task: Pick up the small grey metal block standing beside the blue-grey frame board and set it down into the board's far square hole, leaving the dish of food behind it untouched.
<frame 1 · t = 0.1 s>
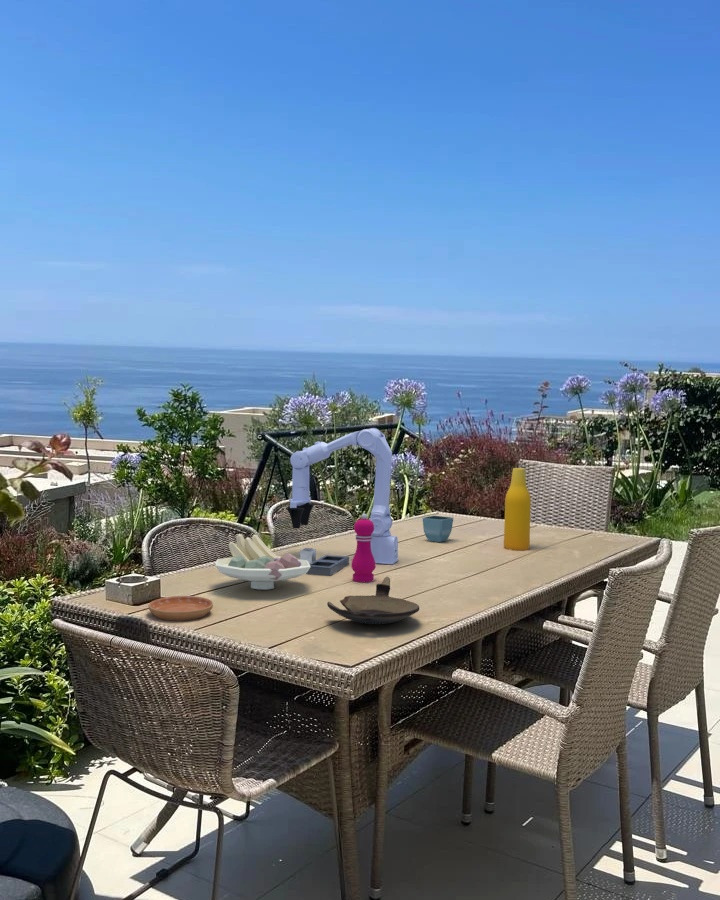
hand: (300, 526, 306), 10 cm above the table, tool pointing down, fingers open, 7 cm apart
oil lamp: (379, 620, 226), on the table
flower pot: (437, 541, 341), on the table
dish with food: (262, 588, 259), on the table
pepper mill: (363, 580, 271), on the table
beer bottle: (516, 548, 328), on the table
saucer: (180, 615, 228), on the table
grey metal block: (307, 565, 292), on the table
blue-grey frame board: (327, 569, 286), on the table
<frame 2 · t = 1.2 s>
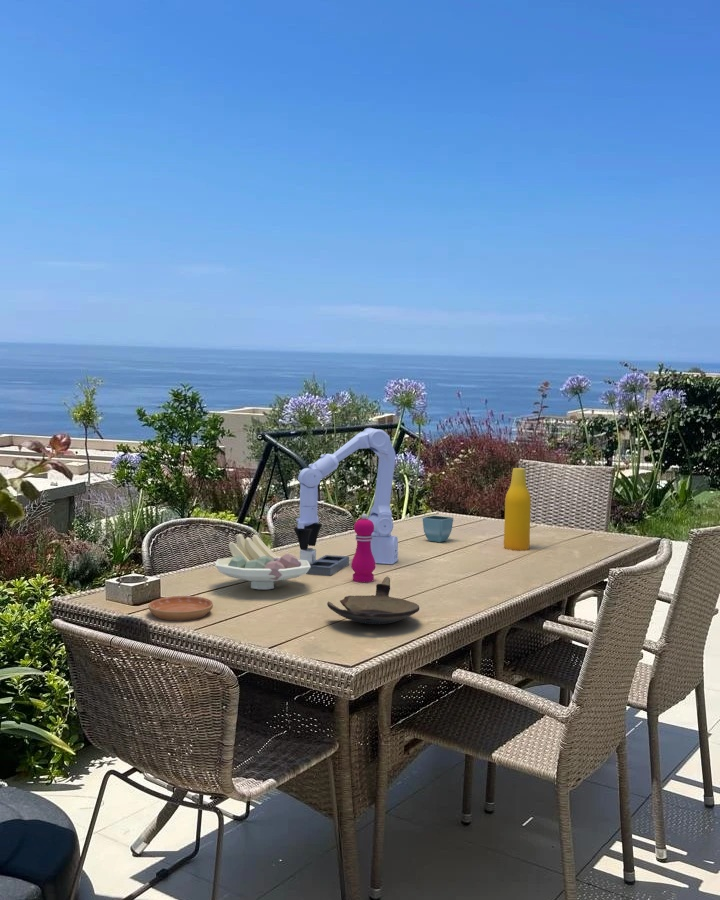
hand: (307, 547, 291), 6 cm above the table, tool pointing down, fingers open, 7 cm apart
nothing on the table moved.
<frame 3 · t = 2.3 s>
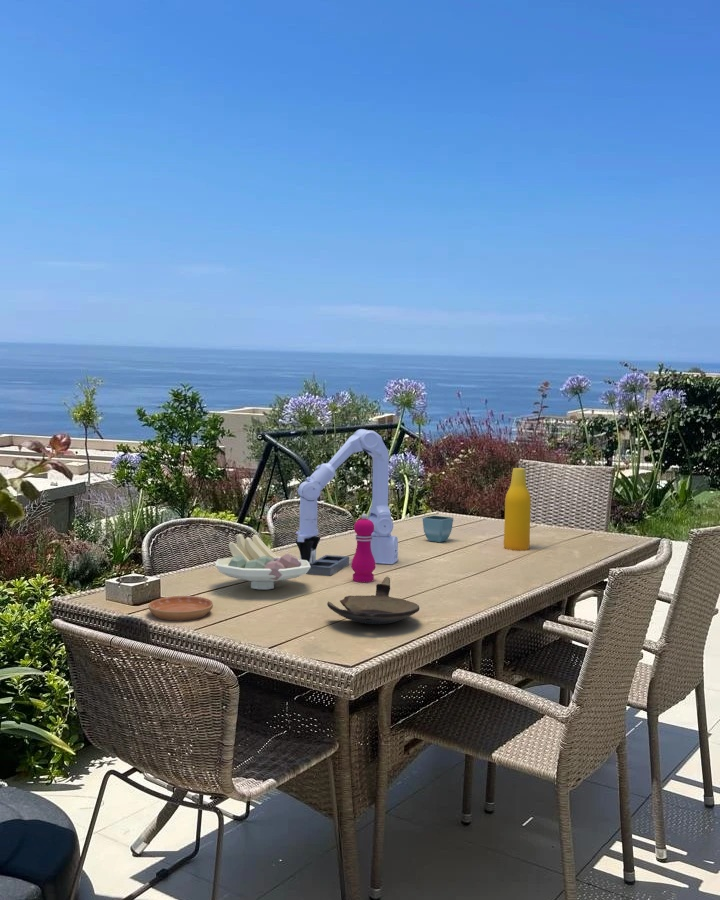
hand: (307, 560, 292), 1 cm above the table, tool pointing down, fingers closed on grey metal block, 4 cm apart
grey metal block: (307, 565, 292), on the table, touching gripper
everything else where it was.
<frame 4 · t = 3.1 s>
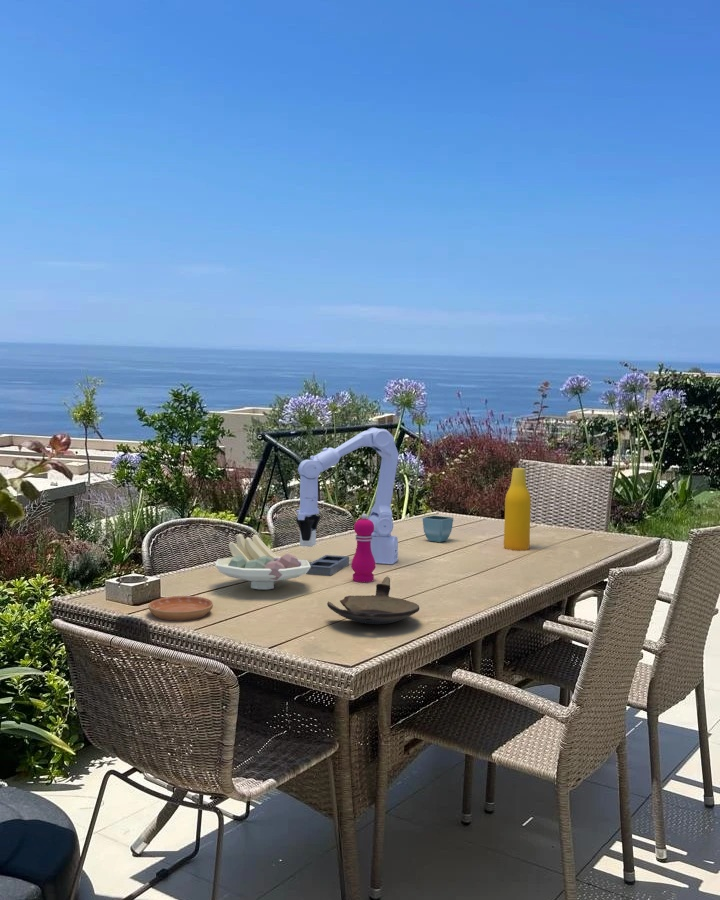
hand: (308, 539, 291), 8 cm above the table, tool pointing down, fingers closed on grey metal block, 4 cm apart
grey metal block: (307, 545, 291), point 6 cm above the table, touching gripper
everything else where it was.
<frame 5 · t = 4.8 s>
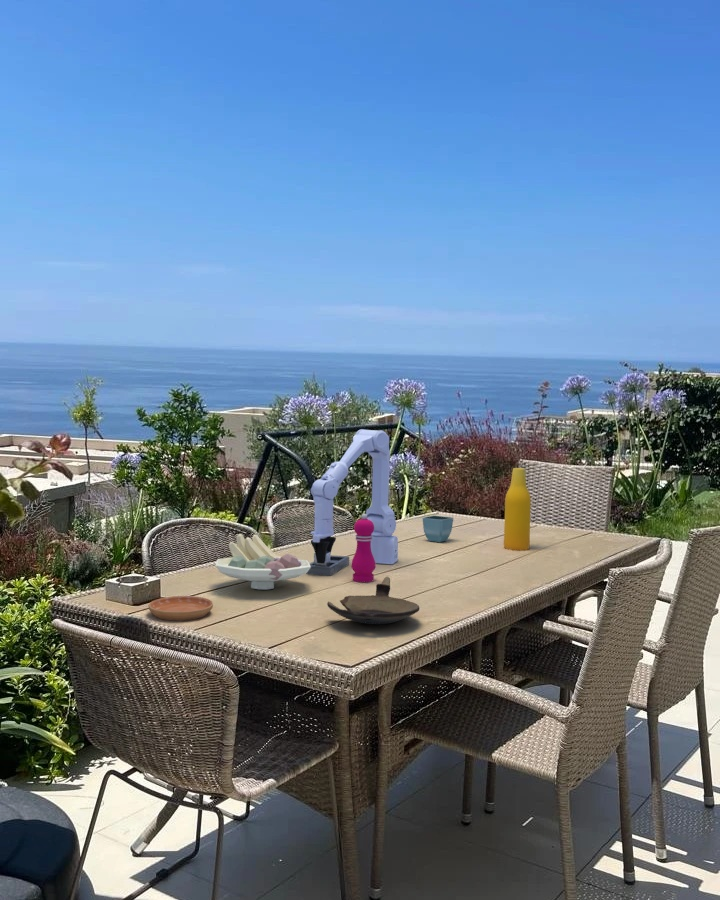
hand: (323, 561, 281), 3 cm above the table, tool pointing down, fingers closed on grey metal block, 4 cm apart
grey metal block: (322, 568, 282), point 1 cm above the table, touching gripper
everything else where it was.
when the fingers open (3 cm above the table, at t = 5.1 s): grey metal block drops 1 cm, resting in blue-grey frame board.
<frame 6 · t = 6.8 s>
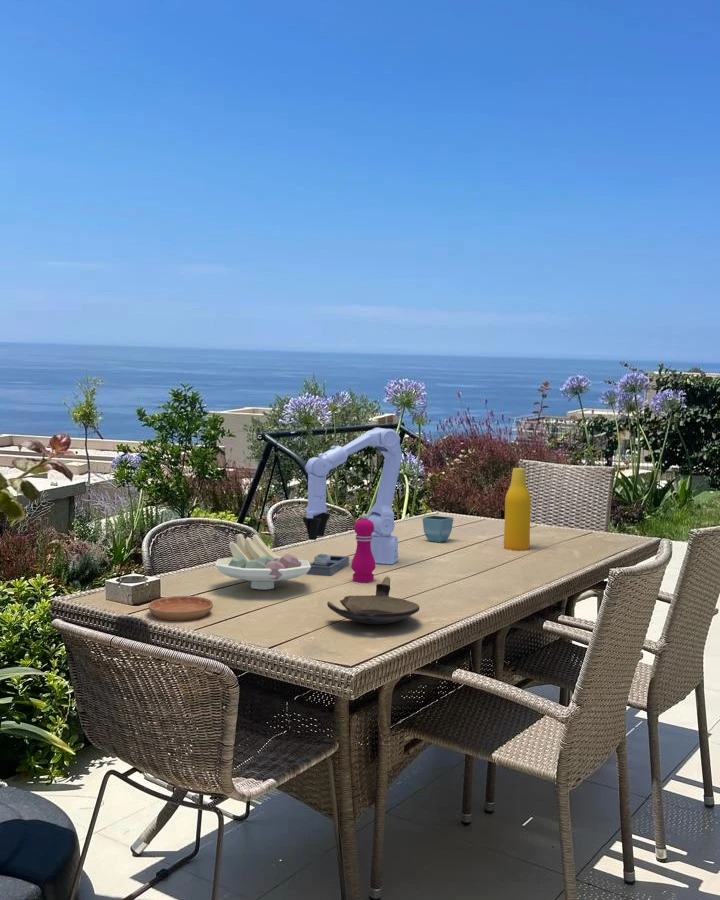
hand: (316, 537, 289), 9 cm above the table, tool pointing down, fingers open, 7 cm apart
grey metal block: (322, 572, 282), resting in blue-grey frame board
everything else where it was.
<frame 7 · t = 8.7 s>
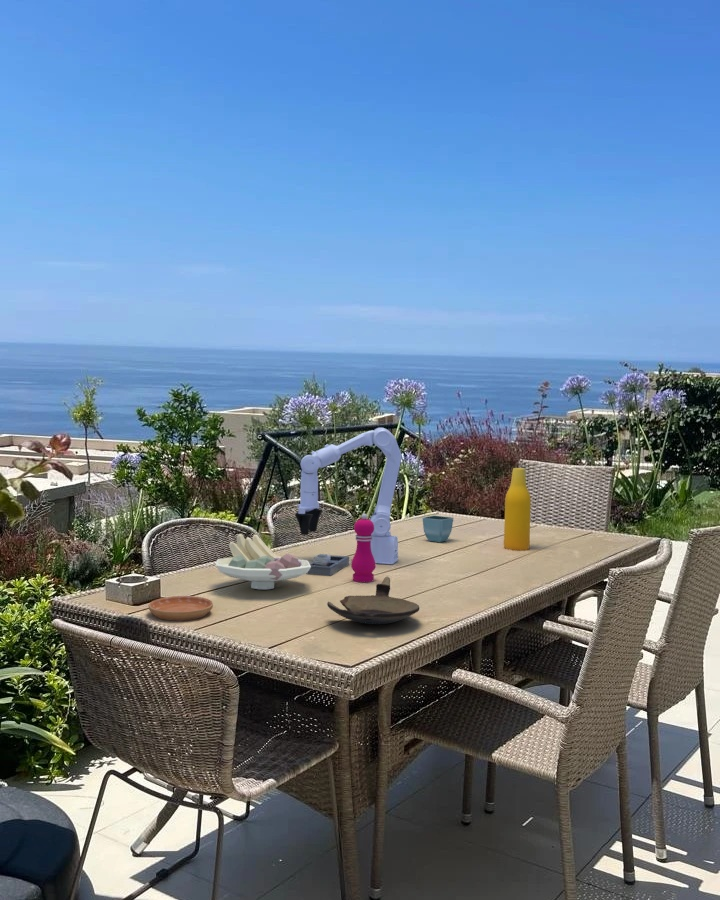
hand: (308, 532, 297), 9 cm above the table, tool pointing down, fingers open, 7 cm apart
nothing on the table moved.
at the end: grey metal block 0.3 cm from the target spot on the blue-grey frame board, point 0.0 cm above the blue-grey frame board's base; grey metal block tilted 0°; dish with food moved 0.3 cm from its start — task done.
